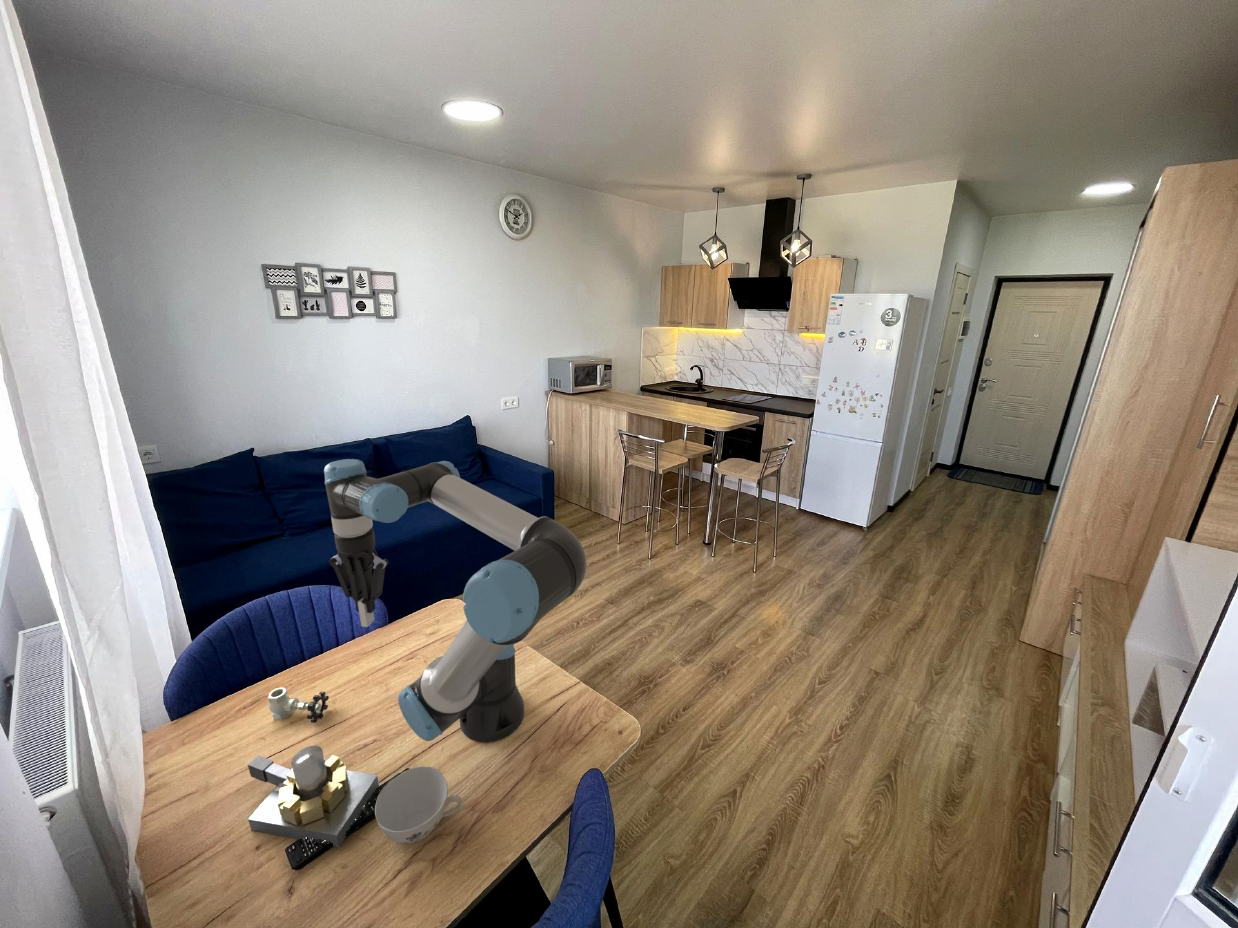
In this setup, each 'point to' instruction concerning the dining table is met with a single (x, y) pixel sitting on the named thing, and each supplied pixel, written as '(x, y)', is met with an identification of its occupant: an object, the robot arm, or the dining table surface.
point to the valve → (295, 705)
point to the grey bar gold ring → (288, 798)
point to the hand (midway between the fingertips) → (368, 622)
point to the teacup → (413, 804)
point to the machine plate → (320, 825)
